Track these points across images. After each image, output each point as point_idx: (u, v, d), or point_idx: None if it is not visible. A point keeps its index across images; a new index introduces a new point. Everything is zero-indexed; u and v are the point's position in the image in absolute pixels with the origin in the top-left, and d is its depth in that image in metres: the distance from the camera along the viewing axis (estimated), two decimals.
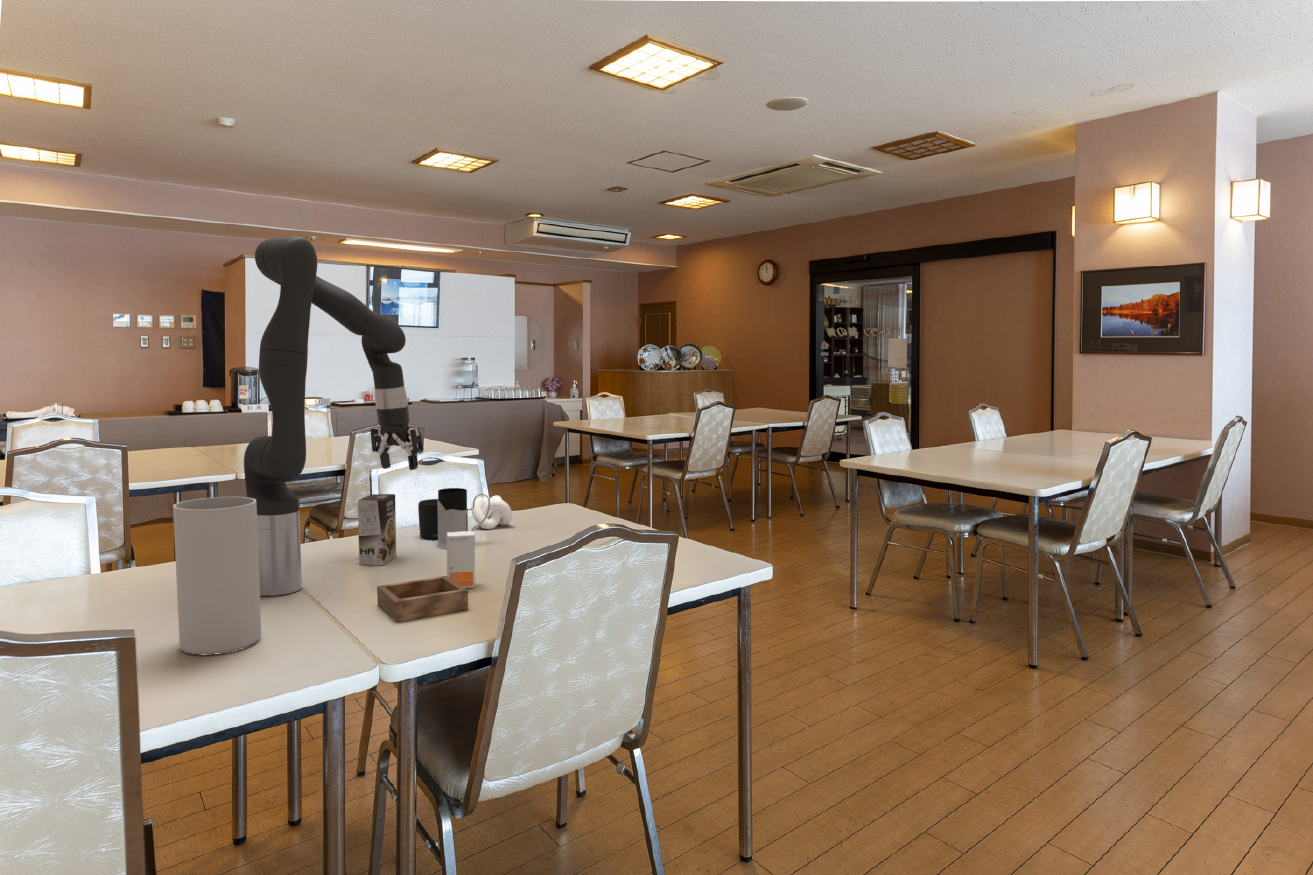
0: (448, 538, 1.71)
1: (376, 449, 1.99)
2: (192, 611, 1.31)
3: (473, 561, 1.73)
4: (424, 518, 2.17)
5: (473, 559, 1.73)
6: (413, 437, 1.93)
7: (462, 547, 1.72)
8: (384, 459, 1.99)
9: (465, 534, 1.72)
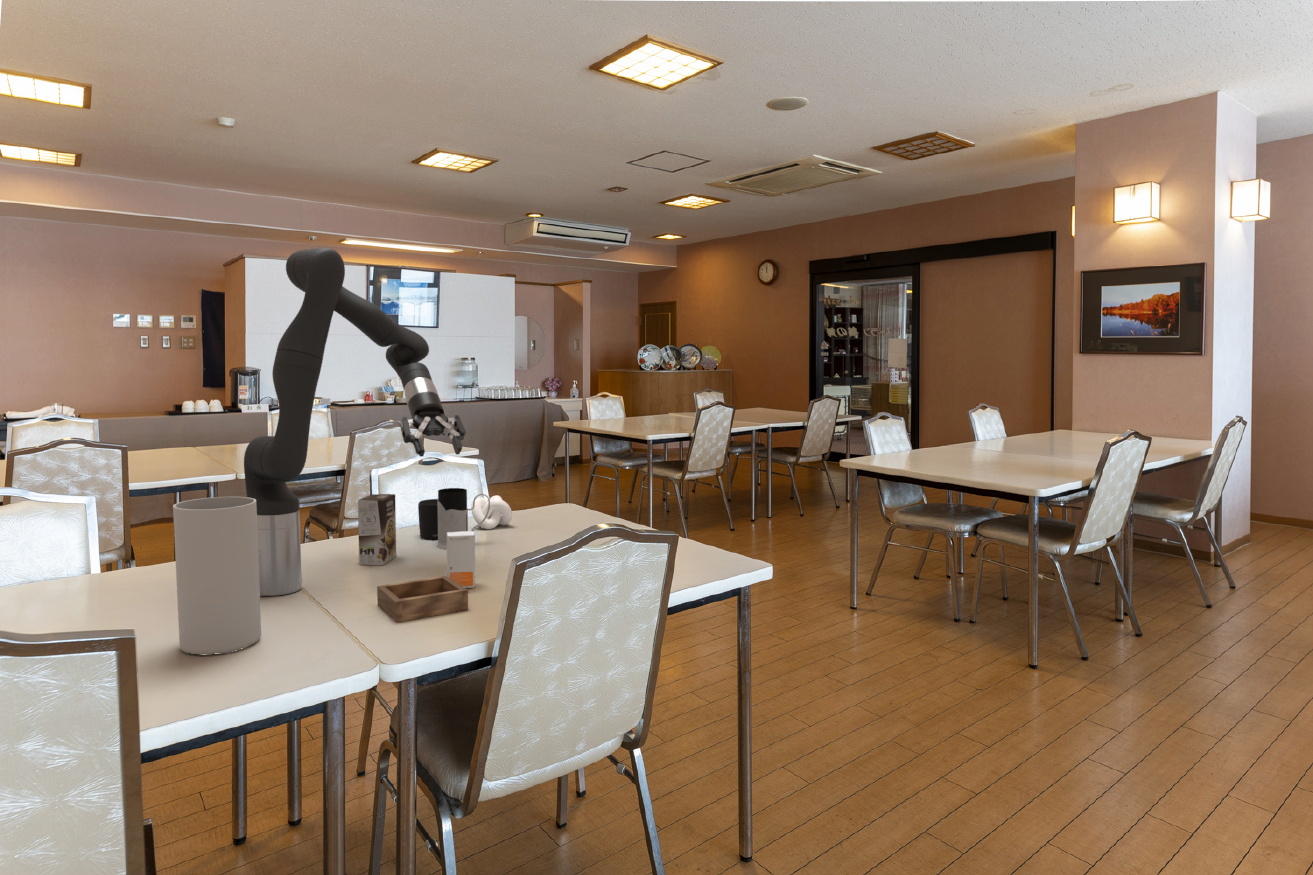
0: (448, 538, 1.71)
1: (410, 435, 1.80)
2: (192, 611, 1.31)
3: (473, 561, 1.73)
4: (424, 518, 2.17)
5: (473, 559, 1.73)
6: (459, 421, 1.88)
7: (462, 547, 1.72)
8: None
9: (465, 534, 1.72)
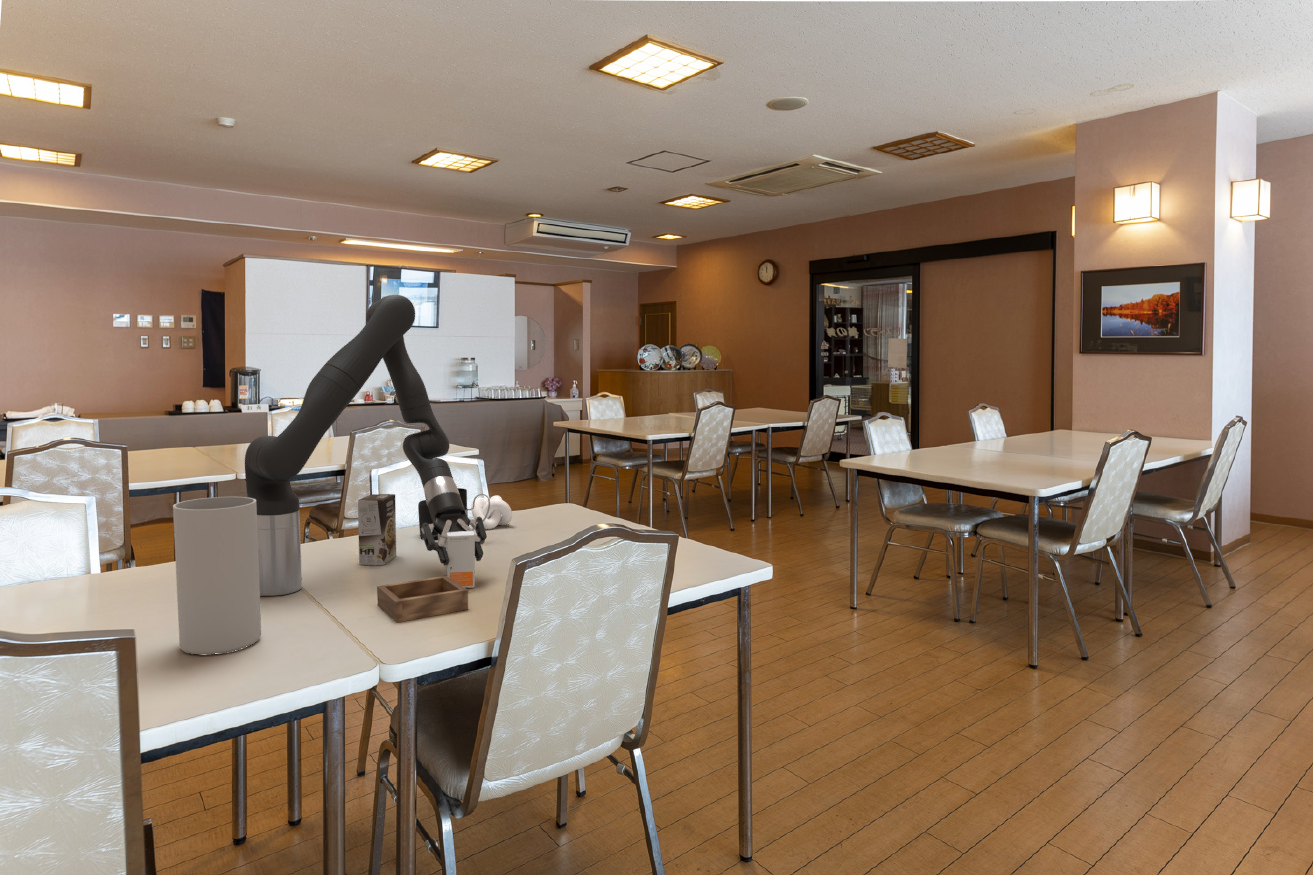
0: (448, 538, 1.71)
1: (434, 542, 1.71)
2: (192, 611, 1.31)
3: (473, 561, 1.73)
4: (424, 518, 2.17)
5: (473, 559, 1.73)
6: (481, 523, 1.80)
7: (462, 547, 1.72)
8: None
9: (465, 534, 1.72)
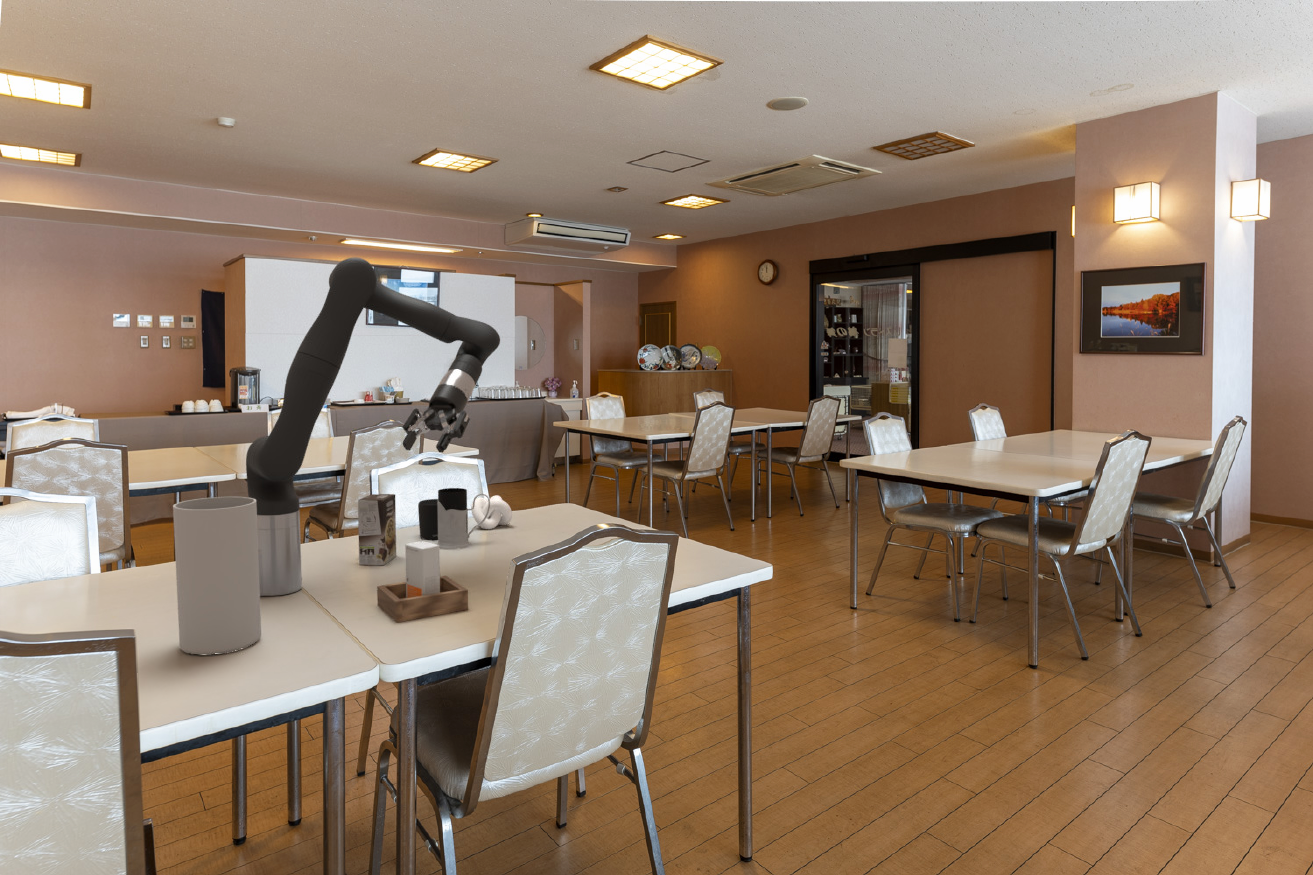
0: (405, 547, 1.58)
1: (407, 427, 1.74)
2: (192, 611, 1.31)
3: (421, 577, 1.56)
4: (424, 518, 2.17)
5: (421, 575, 1.56)
6: (461, 417, 1.72)
7: (414, 560, 1.57)
8: (410, 437, 1.72)
9: (420, 546, 1.57)
